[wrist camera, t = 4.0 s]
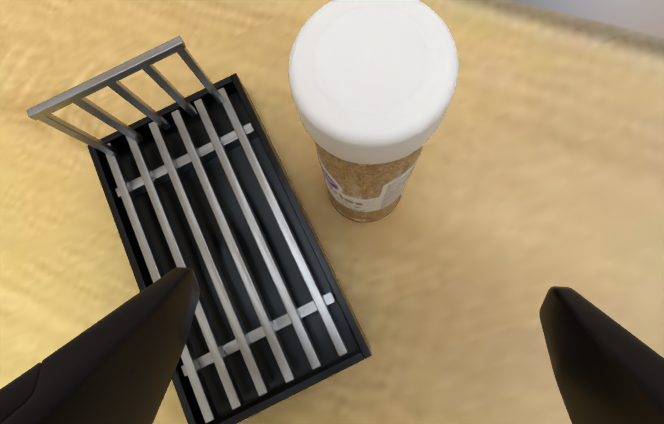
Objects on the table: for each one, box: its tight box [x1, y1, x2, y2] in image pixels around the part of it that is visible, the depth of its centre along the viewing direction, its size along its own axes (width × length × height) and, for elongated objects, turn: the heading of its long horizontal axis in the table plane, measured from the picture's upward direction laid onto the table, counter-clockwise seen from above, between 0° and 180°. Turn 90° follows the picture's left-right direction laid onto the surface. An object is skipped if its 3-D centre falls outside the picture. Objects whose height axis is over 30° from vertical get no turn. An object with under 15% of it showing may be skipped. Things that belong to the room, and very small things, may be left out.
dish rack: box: [27, 36, 371, 424], centre depth 19 cm, size 10×18×8 cm, turn 26°
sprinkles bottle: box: [289, 0, 459, 222], centre depth 16 cm, size 5×4×13 cm
